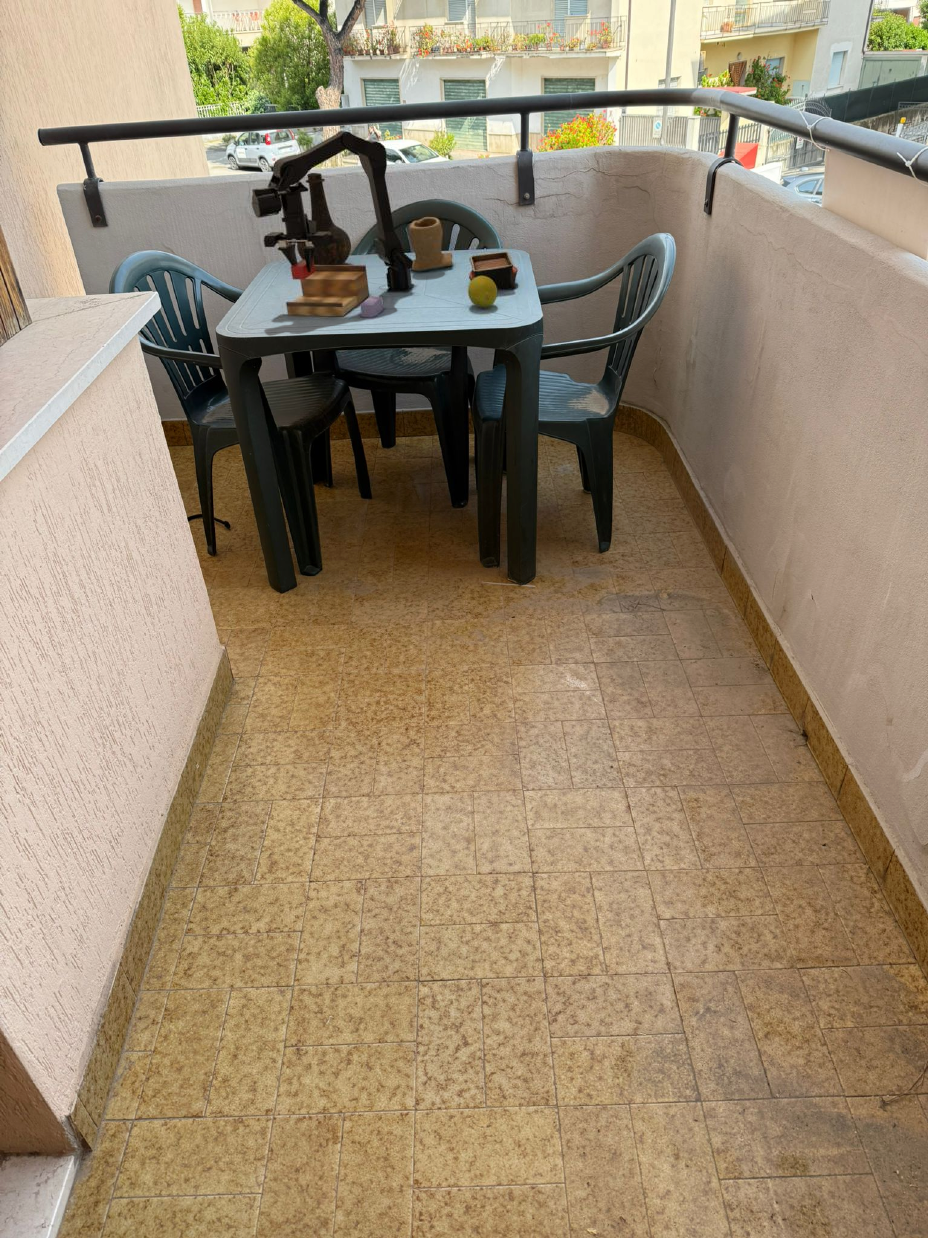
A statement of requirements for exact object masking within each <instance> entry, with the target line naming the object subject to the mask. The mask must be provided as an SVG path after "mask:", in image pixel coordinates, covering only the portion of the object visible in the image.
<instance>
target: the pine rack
mask: <svg viewBox="0 0 928 1238" xmlns="http://www.w3.org/2000/svg"><path fill="white" fill-rule="evenodd" d="M314 267H315V273H313V274H312V275H310V276H309V277H307V278H306V279H304V280H300V287H301V292H302V295H300V297H298V298H296V299H295V300H293V301H286V302H285V306H286V311H287V315H288V316H304V317H305V316H310V317H311V316H313V317H316V316H317V317H344V316H346V315H347V314H348V313H349V312H351V311H352V310H353V309H354V308H355V307H357V306H358V305H359V304H361V303H363V302H364V301H365V300H366V299H367V298H369V297H370V288H369V281H368V272H367V266H366V265H365V264H342V265H314Z"/></svg>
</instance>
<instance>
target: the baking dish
mask: <svg viewBox="0 0 928 1238" xmlns="http://www.w3.org/2000/svg"><path fill="white" fill-rule="evenodd" d="M469 262H470V265H471V268H472V269H471V271H470V272H469V274H468V278H469V280H470V282H471V281H472V280H473V279H474V278H476V277H478V276H486V277H488V278H490V279H491V280H493V282H494V283H495V285H496V287H497V290H502V291H503V290H504V291H507V290H515V289H516V287H515V286H516V285H515V284H516V278H517V274H518V272H519V271H518V270H519V269H518V267H516V266H515V265H514V262H513V261H512V257H511V255H510V252H508V251H500V252H489V253H481V254H475V255H474V254H473V255H471V256H470V257H469Z"/></svg>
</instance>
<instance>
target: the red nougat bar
mask: <svg viewBox="0 0 928 1238" xmlns="http://www.w3.org/2000/svg"><path fill="white" fill-rule="evenodd" d="M290 272H291V277H292V280H304V279H306V278H307V277H309V276H310V275H312V274H313V273H315V267H314V260H313V264H312V270H311V272H310V273H309V272H308V269H307V266H306V261H305V260H302V259H301V260H299V261H297V263H296V264H294V265H293V266H292V265H290Z"/></svg>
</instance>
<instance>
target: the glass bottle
mask: <svg viewBox="0 0 928 1238" xmlns="http://www.w3.org/2000/svg"><path fill="white" fill-rule="evenodd" d="M306 177H307V179H306V180H305V183H307V184H308V187H309V188H308V190H309V196H310V198H309V199H310V212H311V219H310V220H312V221H315V222H316V233H317V232H330V233H331V234H332V236H333V241H334V242H333V243H331V244H330V245H328V246H326V247H318V248H316V250H315V253H314V258H313V260H314V265H344V264H345V263H346V262H347V260H348V258H349V256H350V254H351V252H352V242H351V238H350V236H349V234H348V233H347V231H345V230H344V229H343V228H341V227H339V226H337V225H336V224H335V223H334V222H333V218H332V216H331V214H330V210H329V206H328V203H327V199H326V198H327V197H326V194H325V193H326V192H325V188H324V184H323V183H324V182H325V181H326V179H325V178H323V177H322V173H320V172H310V173H307V174H306ZM308 235H314V234H308ZM302 240H304V239H302ZM305 247H306V243H296V249H297V252H298V255H299V257H300V258H301V260H305V256H304V251H303V248H305Z"/></svg>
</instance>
